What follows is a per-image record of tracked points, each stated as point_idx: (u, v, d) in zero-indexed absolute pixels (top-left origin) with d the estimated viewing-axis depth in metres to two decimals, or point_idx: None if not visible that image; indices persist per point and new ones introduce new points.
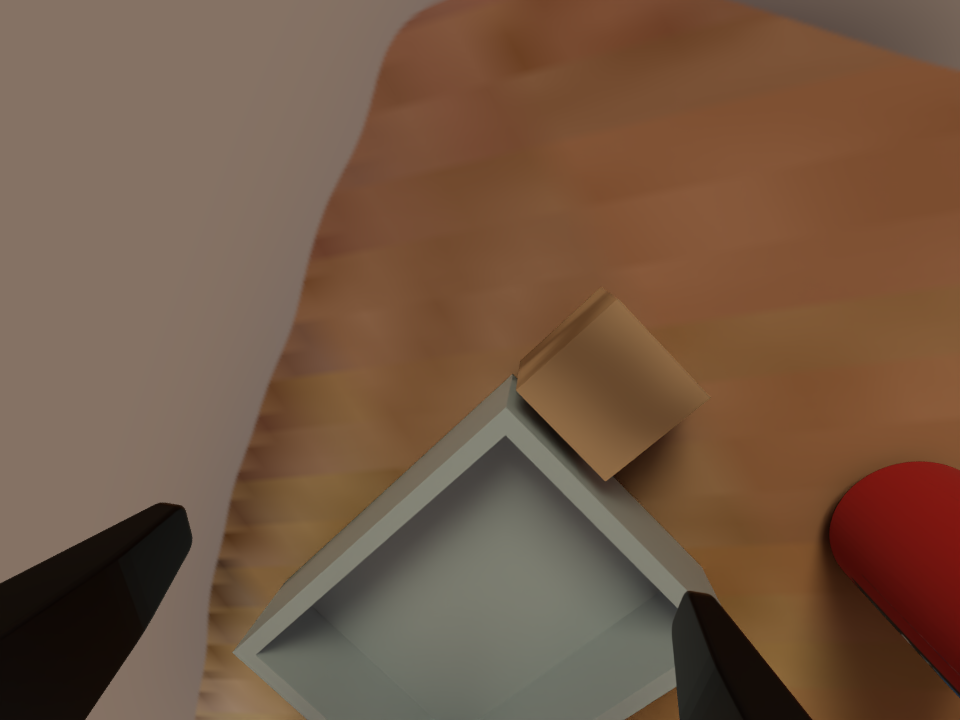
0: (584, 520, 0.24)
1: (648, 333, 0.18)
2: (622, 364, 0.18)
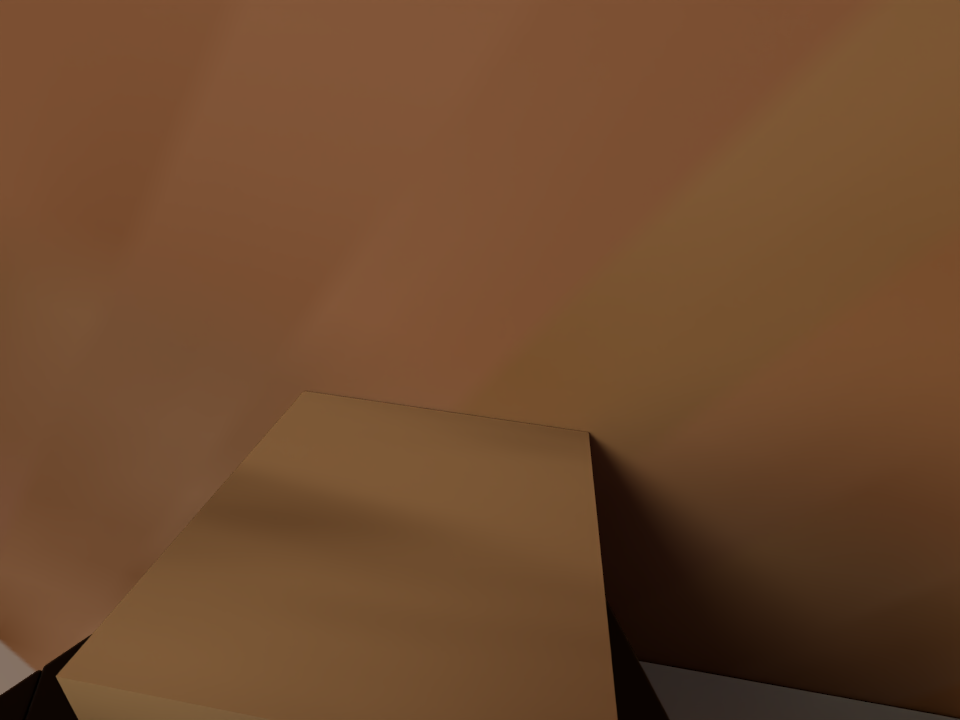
0: None
1: (238, 713, 0.04)
2: None
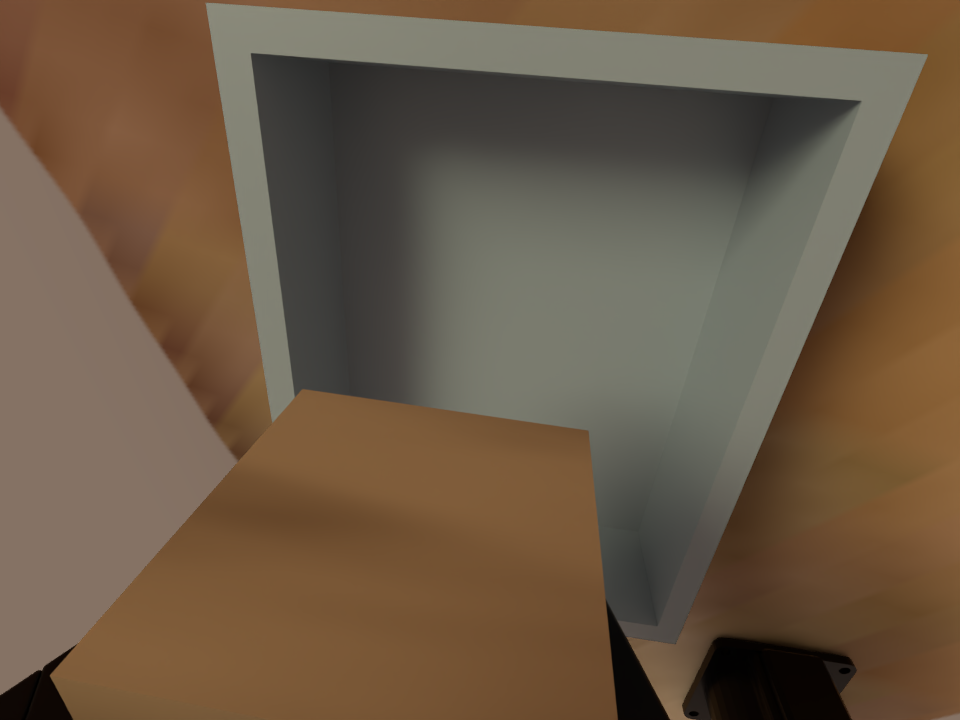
0: (563, 144, 0.14)
1: (234, 712, 0.04)
2: None
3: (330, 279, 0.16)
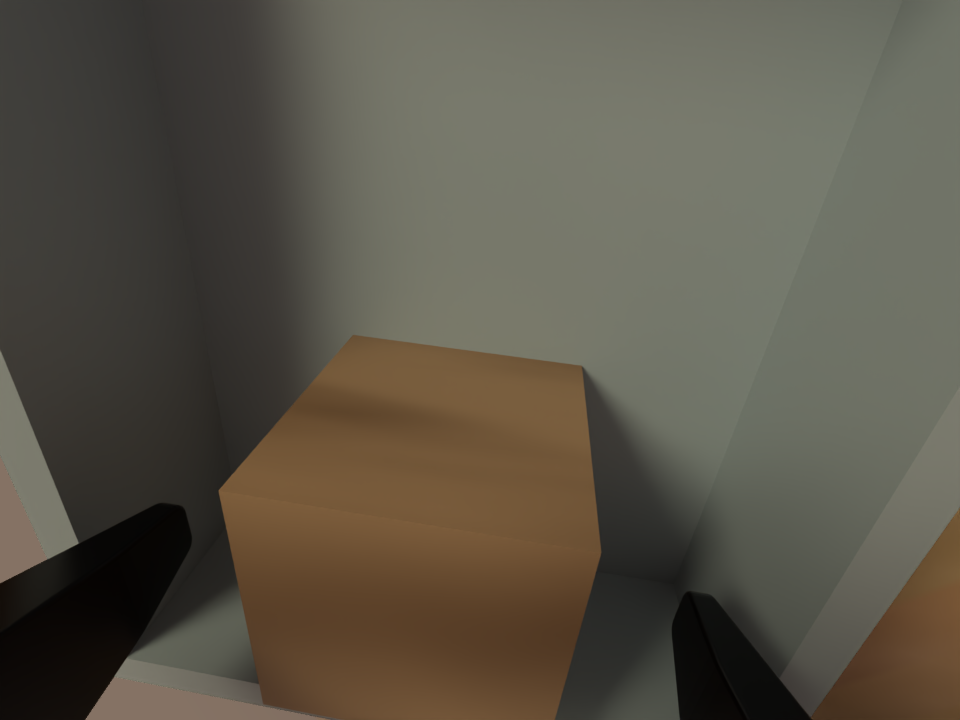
0: None
1: (343, 512, 0.07)
2: (363, 589, 0.07)
3: (121, 118, 0.08)
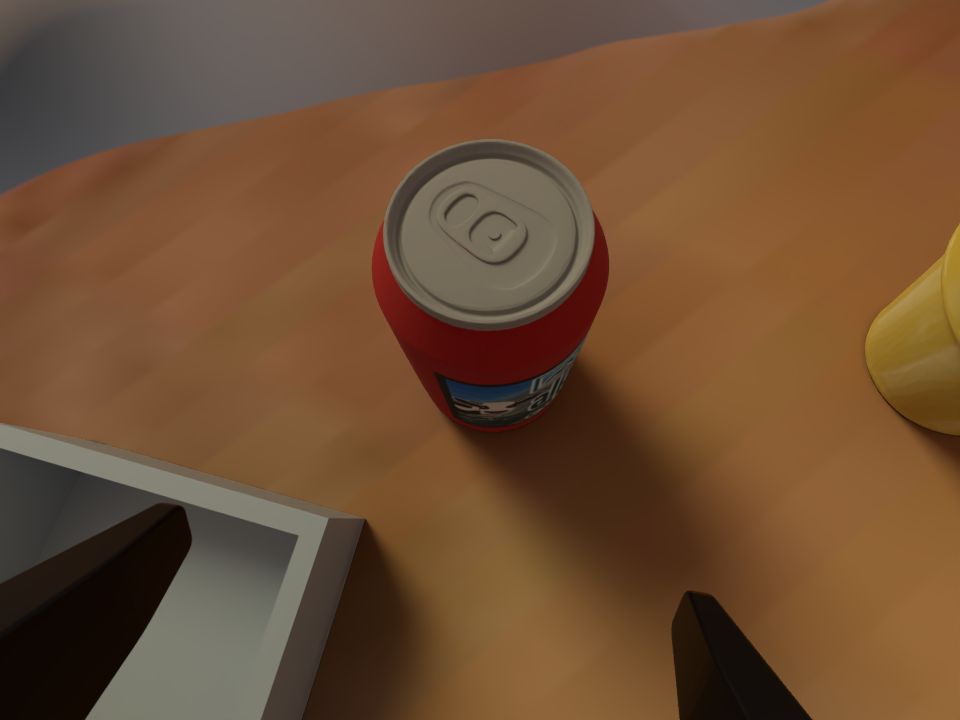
0: (208, 536, 0.21)
1: None
2: None
3: None
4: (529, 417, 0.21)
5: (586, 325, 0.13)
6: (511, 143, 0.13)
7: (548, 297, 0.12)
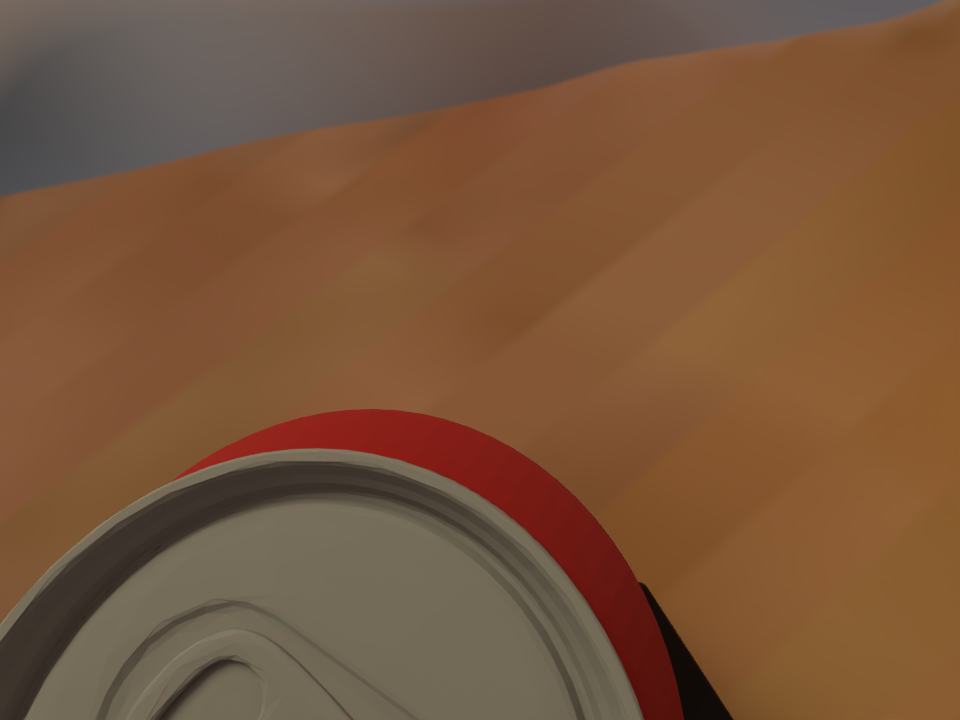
0: None
1: None
2: None
3: None
4: None
5: None
6: (384, 468, 0.04)
7: None
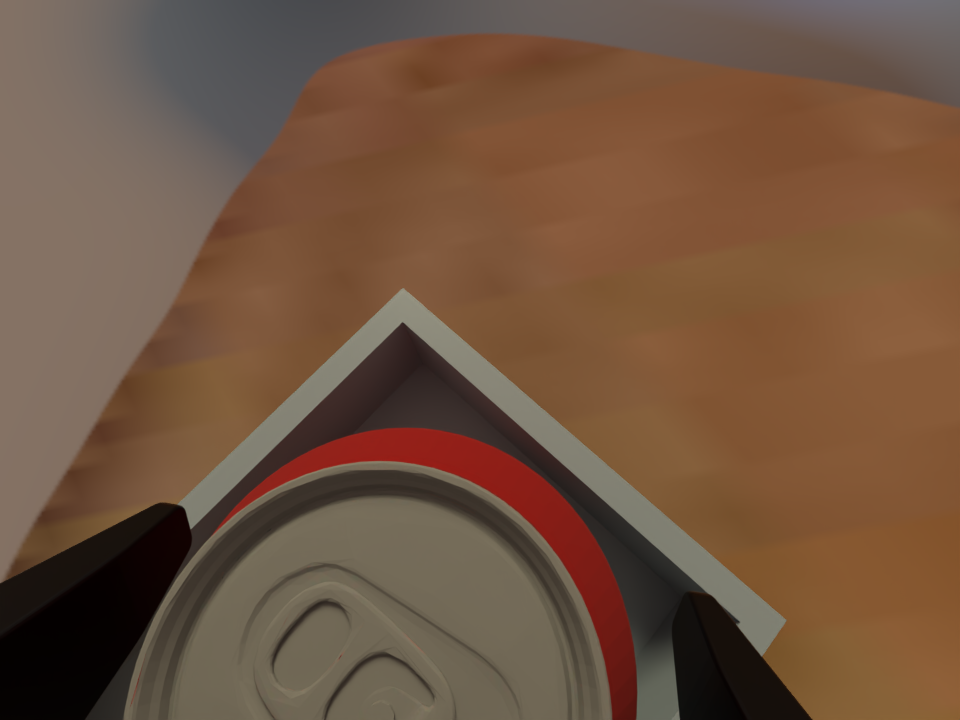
0: None
1: None
2: None
3: None
4: None
5: None
6: (424, 474, 0.06)
7: None
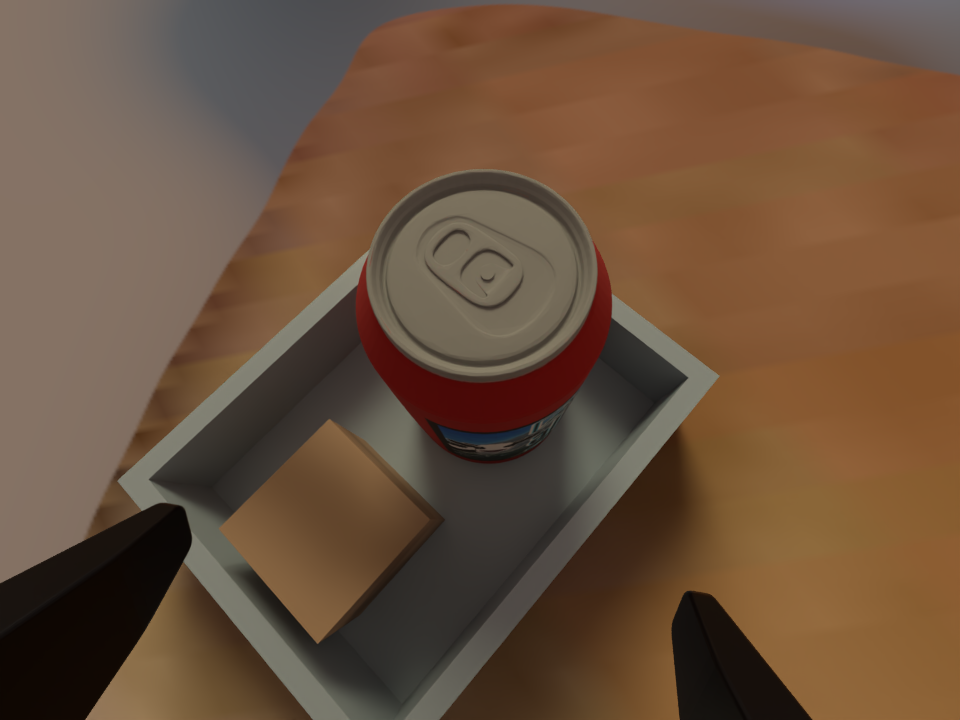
0: None
1: (360, 452, 0.17)
2: (335, 488, 0.17)
3: None
4: (528, 449, 0.20)
5: (589, 369, 0.12)
6: (503, 173, 0.12)
7: (548, 344, 0.11)
